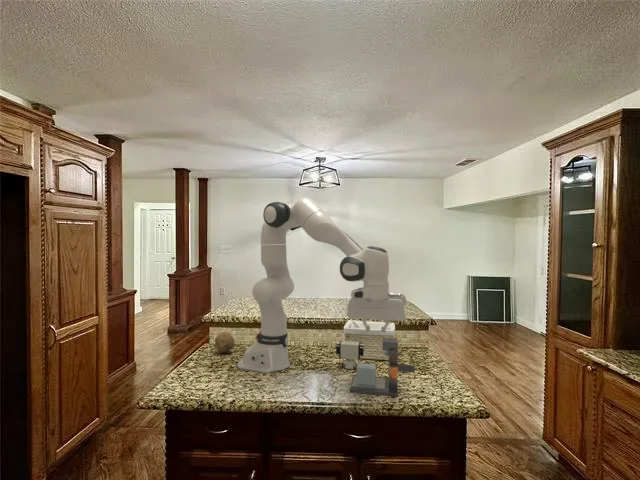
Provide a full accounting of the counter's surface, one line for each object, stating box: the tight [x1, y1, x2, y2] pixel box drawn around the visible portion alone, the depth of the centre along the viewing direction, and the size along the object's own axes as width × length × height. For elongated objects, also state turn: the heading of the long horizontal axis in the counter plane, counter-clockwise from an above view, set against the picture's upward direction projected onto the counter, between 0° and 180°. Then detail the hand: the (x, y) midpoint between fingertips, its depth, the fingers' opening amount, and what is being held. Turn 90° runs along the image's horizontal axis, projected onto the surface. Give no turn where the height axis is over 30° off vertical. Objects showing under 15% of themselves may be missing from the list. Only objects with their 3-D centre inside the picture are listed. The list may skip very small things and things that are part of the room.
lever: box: [388, 366, 399, 381], centre depth 127 cm, size 3×6×4 cm, turn 169°
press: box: [349, 337, 416, 398], centre depth 135 cm, size 23×14×18 cm, turn 79°
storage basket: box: [343, 319, 396, 361], centre depth 173 cm, size 24×16×15 cm
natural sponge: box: [214, 331, 236, 354], centre depth 172 cm, size 9×9×10 cm
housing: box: [356, 362, 377, 385], centre depth 136 cm, size 7×5×6 cm
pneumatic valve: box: [335, 340, 364, 370], centre depth 155 cm, size 6×12×12 cm, turn 78°
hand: (375, 331), depth 127 cm, fingers open, 4 cm apart
